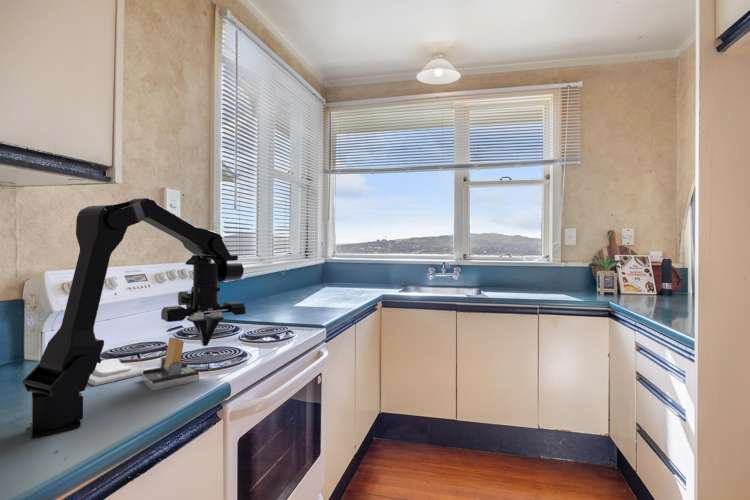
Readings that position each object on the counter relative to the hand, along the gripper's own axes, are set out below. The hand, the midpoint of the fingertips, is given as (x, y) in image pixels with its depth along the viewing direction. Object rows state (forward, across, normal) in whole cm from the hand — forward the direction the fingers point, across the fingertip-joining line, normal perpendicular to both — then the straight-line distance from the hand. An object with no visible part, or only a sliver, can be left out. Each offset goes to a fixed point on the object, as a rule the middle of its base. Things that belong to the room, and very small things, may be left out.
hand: (204, 345), depth 98 cm
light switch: (+8, +18, -14) cm, 24 cm away
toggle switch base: (+7, +8, 0) cm, 10 cm away
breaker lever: (+4, +8, 0) cm, 9 cm away
